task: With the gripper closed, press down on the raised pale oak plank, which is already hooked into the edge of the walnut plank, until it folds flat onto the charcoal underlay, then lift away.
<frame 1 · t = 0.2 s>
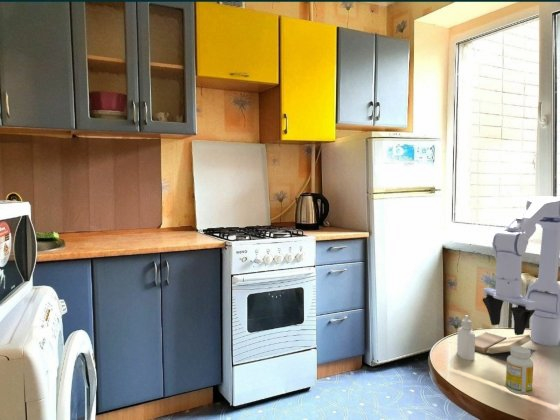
hand: (506, 329, 110), 10 cm above the table, fingers open, 7 cm apart
floor section: (498, 351, 119), on the table
eye dropper bottle: (465, 359, 114), on the table
supplement bottle: (518, 390, 97), on the table
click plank: (508, 344, 117), point 3 cm above the table, hinge at 25.0°
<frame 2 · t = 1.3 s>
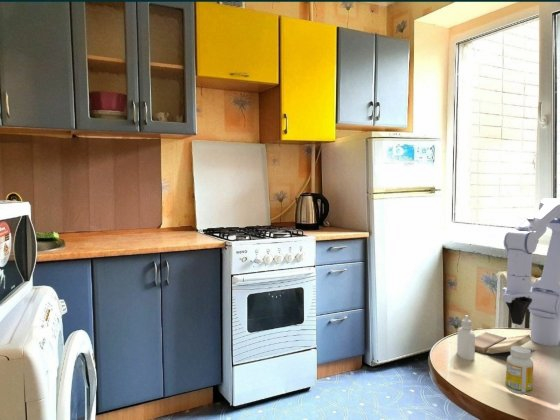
hand: (517, 323, 115), 9 cm above the table, fingers closed
nothing on the table moved.
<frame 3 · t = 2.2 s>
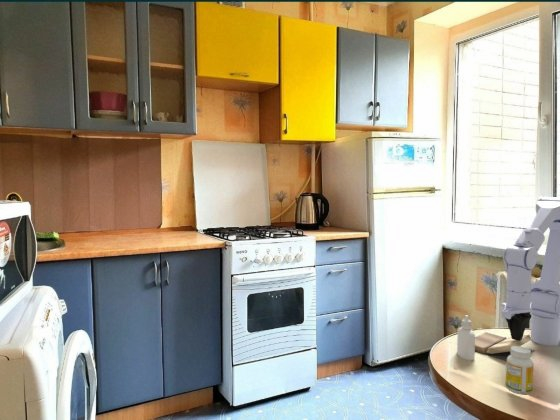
hand: (516, 339, 115), 5 cm above the table, fingers closed, pressing on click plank
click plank: (508, 344, 117), point 3 cm above the table, hinge at 25.0°, touching gripper
everything else where it was.
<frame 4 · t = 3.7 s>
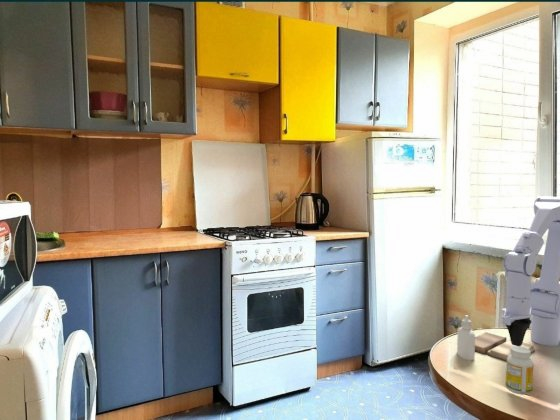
hand: (516, 344, 116), 3 cm above the table, fingers closed
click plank: (510, 349, 117), point 2 cm above the table, hinge at -0.4°, touching floor section
everything else where it was.
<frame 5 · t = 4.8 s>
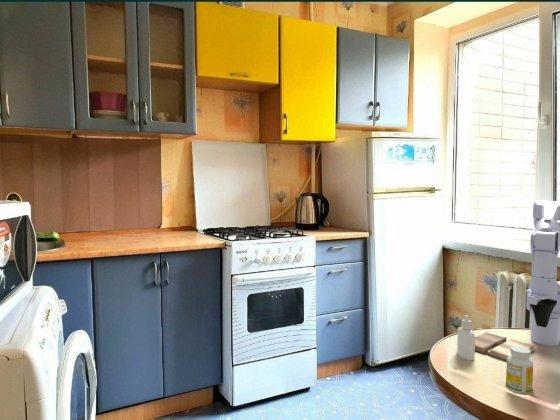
hand: (541, 326, 113), 9 cm above the table, fingers closed
nothing on the table moved.
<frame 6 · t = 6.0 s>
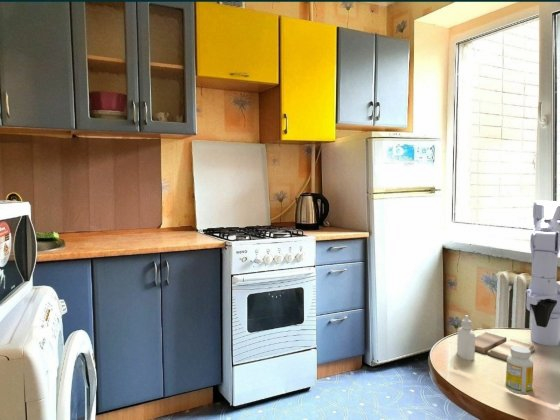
hand: (541, 326, 113), 9 cm above the table, fingers closed
nothing on the table moved.
at the end: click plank at +0° (first picture: +25°) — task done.
